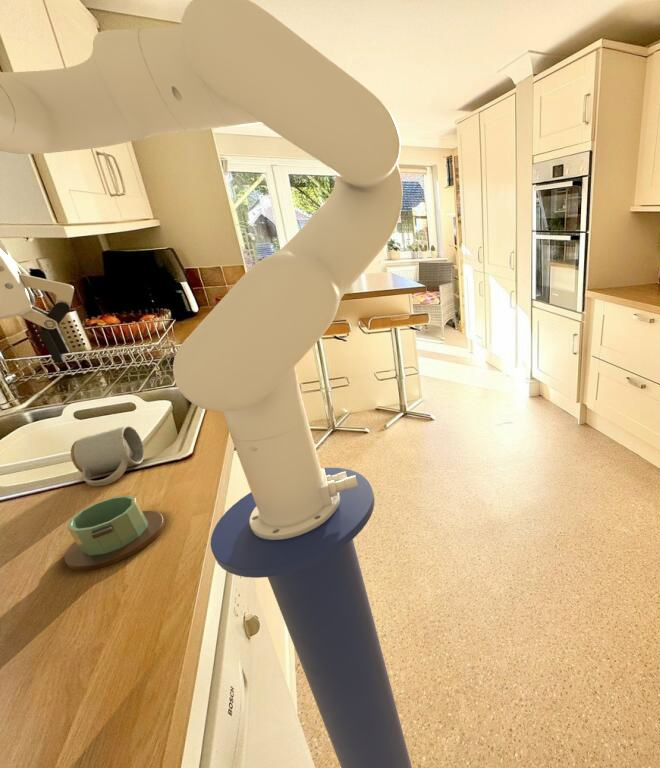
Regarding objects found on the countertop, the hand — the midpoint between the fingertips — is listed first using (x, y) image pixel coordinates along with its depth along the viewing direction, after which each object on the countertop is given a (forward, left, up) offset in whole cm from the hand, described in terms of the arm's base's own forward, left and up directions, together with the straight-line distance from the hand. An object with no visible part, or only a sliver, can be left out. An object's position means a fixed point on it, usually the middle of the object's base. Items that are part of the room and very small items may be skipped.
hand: (1, 372), depth 46 cm
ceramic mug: (+6, -28, -28) cm, 40 cm away
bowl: (0, -4, -28) cm, 28 cm away
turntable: (0, -4, -28) cm, 29 cm away
